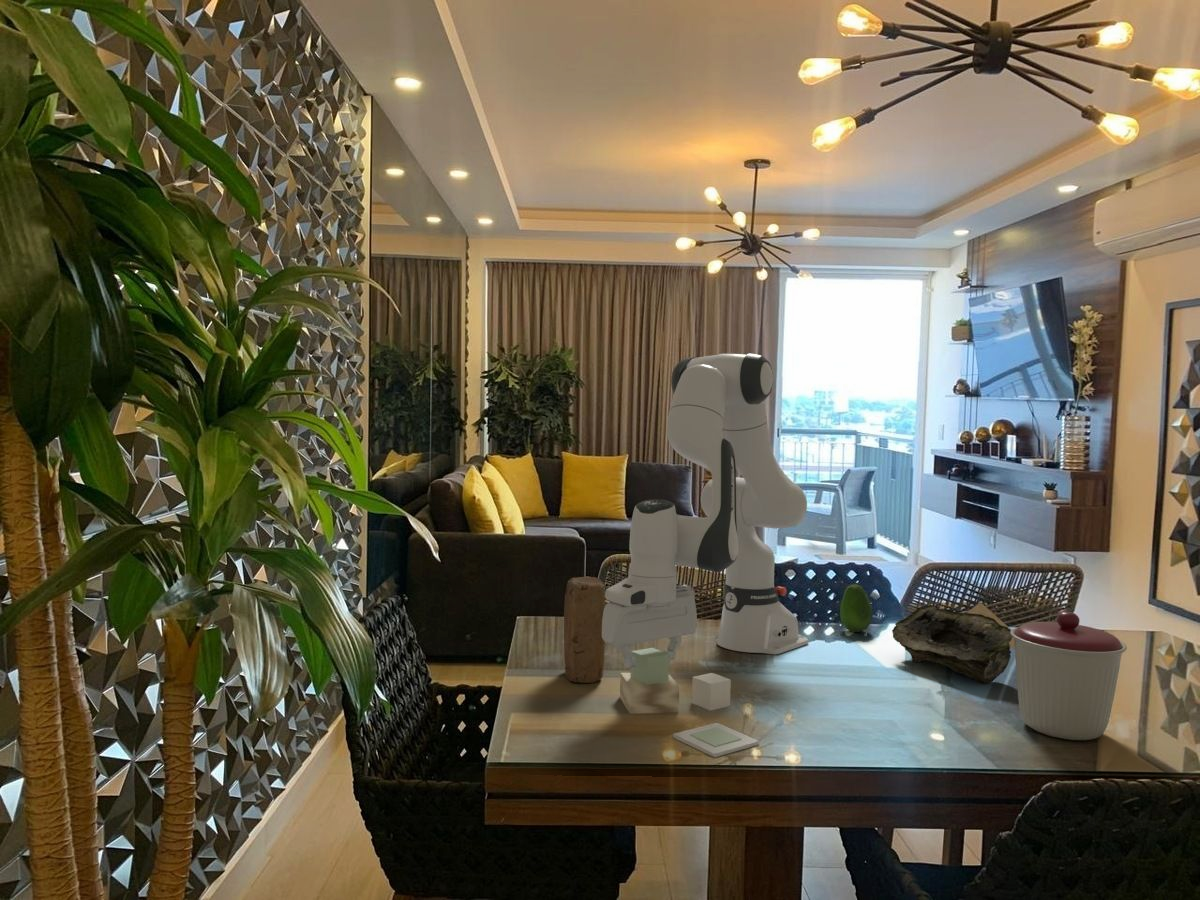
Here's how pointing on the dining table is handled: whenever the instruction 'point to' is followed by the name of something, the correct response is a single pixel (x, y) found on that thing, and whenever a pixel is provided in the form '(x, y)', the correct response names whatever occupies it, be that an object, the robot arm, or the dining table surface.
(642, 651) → the sage cube
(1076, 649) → the canister
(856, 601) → the avocado
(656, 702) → the base block
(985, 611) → the model pyramid
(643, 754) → the dining table surface
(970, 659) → the hollow geode rock
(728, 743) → the card
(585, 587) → the block
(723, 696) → the offwhite cube
